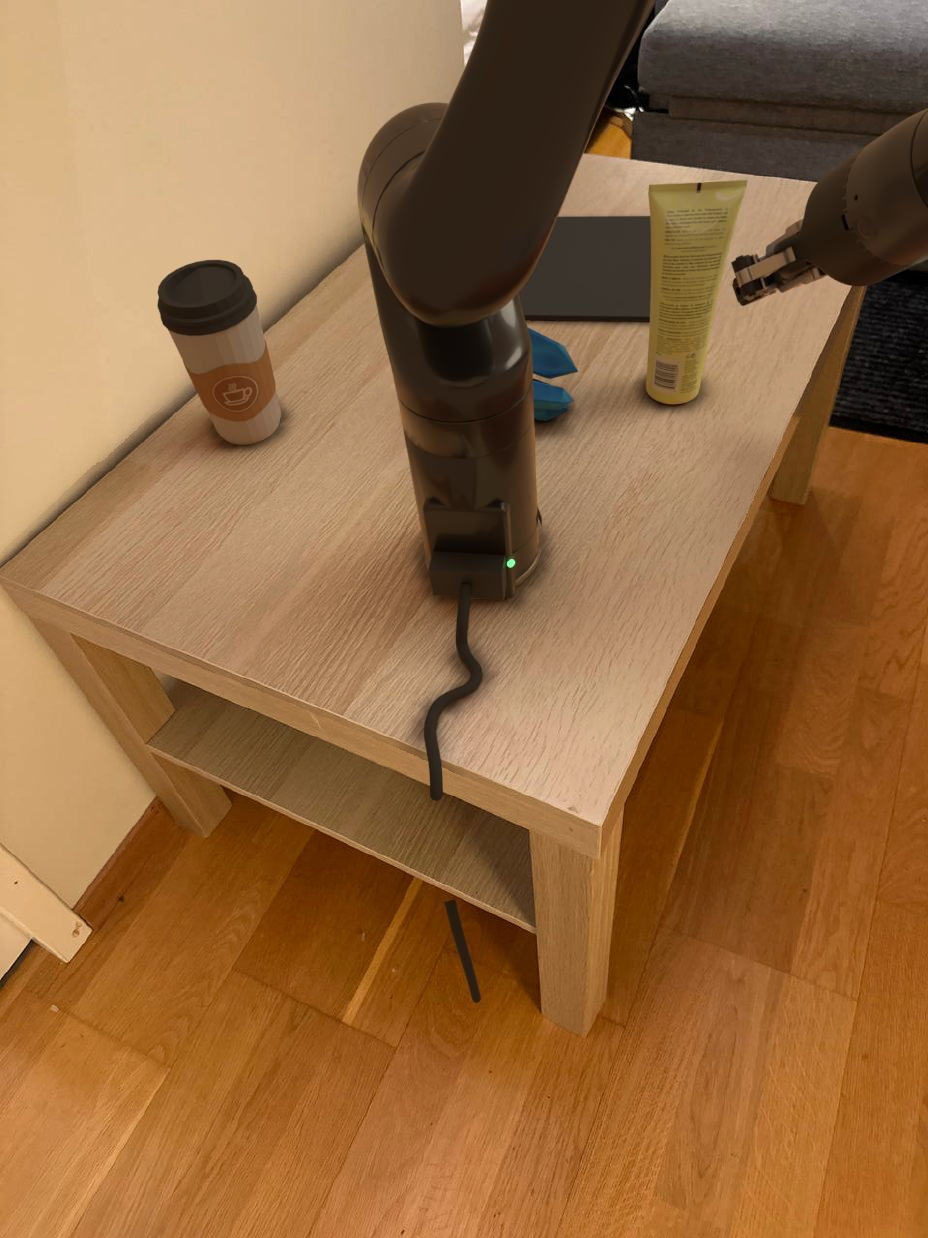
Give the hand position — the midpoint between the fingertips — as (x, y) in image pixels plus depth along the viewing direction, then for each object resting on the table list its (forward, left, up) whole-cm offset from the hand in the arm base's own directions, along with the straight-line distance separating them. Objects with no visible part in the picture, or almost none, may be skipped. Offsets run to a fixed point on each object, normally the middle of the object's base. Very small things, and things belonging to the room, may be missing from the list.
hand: (743, 290), depth 69 cm
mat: (+27, +17, -14) cm, 35 cm away
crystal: (+3, +18, -14) cm, 23 cm away
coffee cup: (-1, +44, -14) cm, 46 cm away
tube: (+6, +4, -14) cm, 16 cm away
